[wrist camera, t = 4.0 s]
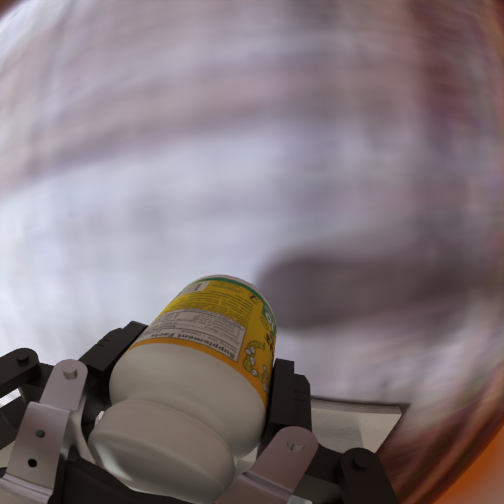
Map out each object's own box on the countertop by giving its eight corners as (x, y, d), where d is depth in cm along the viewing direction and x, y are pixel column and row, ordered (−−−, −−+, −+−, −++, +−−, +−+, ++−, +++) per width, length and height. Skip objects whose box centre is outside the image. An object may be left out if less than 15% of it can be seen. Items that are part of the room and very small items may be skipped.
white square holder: (194, 373, 19) (177, 406, 15) (398, 406, 18) (411, 438, 14) (186, 475, 23) (177, 500, 19) (329, 497, 21) (330, 522, 18)
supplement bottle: (185, 258, 14) (47, 371, 5) (291, 290, 14) (288, 465, 4) (170, 345, 15) (82, 473, 6) (261, 374, 15) (230, 530, 6)
